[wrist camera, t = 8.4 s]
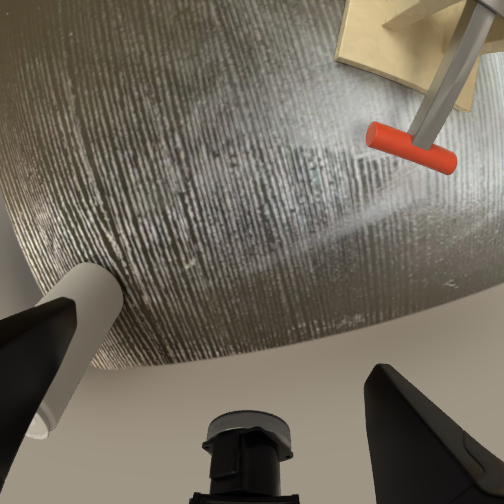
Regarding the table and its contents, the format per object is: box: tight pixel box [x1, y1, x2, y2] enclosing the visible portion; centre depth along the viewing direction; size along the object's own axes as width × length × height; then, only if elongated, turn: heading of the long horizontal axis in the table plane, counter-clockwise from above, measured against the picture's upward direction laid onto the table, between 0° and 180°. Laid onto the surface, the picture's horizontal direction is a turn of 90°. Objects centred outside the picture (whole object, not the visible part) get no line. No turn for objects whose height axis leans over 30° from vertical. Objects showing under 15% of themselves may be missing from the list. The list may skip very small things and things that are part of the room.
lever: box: [366, 0, 504, 175], centre depth 10 cm, size 12×5×2 cm, turn 168°
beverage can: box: [25, 262, 123, 439], centre depth 16 cm, size 5×5×12 cm
